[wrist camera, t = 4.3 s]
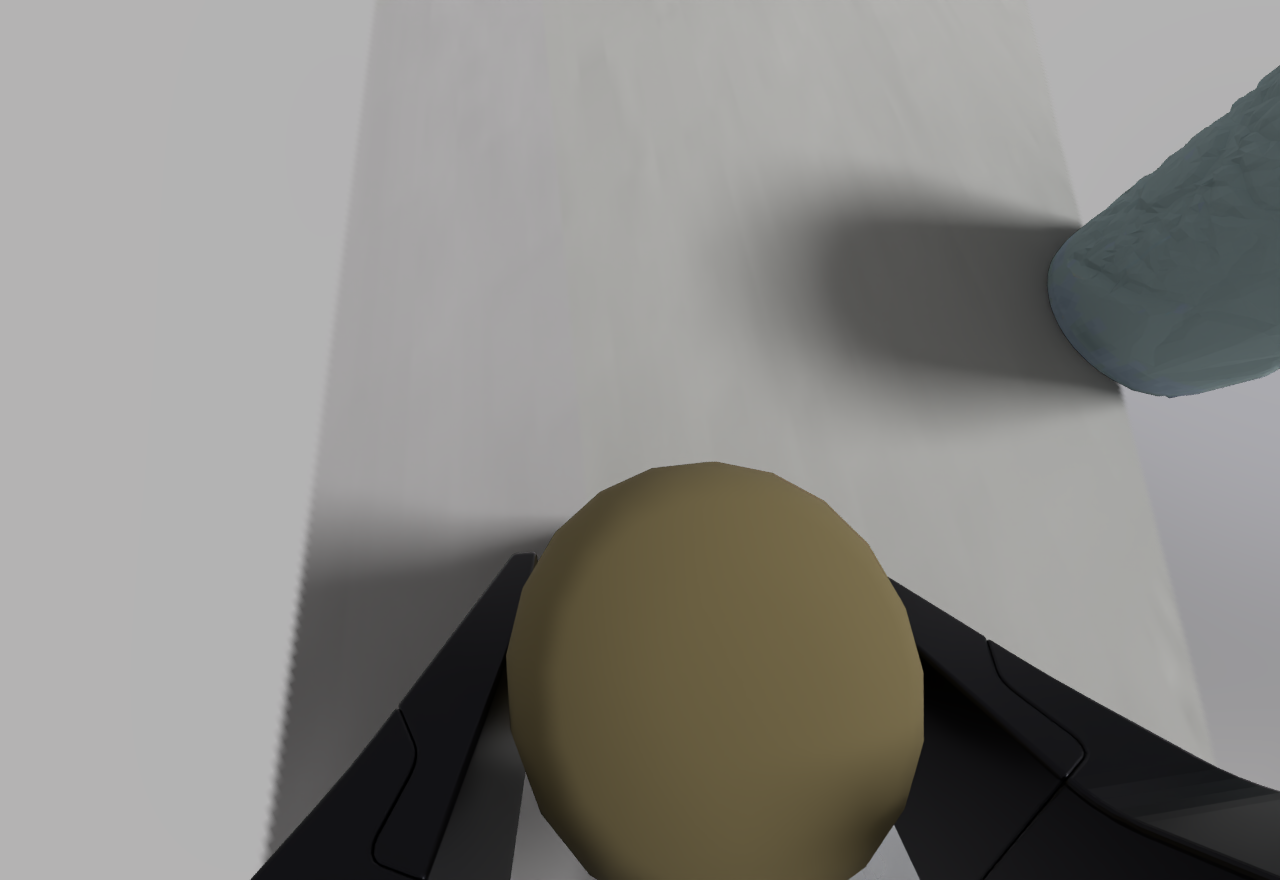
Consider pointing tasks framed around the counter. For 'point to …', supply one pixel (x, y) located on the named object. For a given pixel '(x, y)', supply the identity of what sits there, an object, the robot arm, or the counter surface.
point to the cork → (714, 682)
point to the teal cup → (1185, 263)
